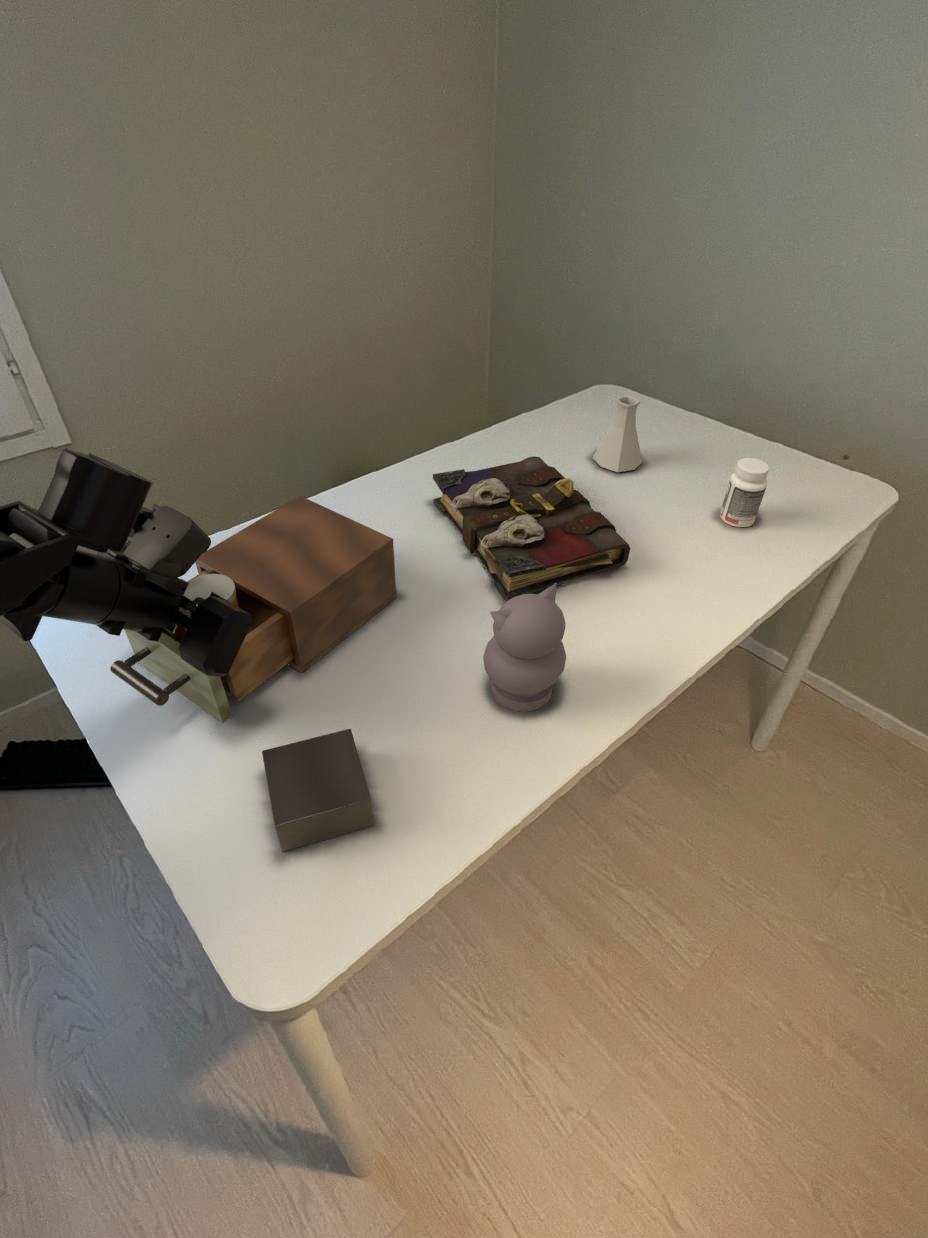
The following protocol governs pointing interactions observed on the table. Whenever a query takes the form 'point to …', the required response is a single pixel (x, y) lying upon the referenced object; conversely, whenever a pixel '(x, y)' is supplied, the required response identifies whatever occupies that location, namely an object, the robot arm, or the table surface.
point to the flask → (621, 439)
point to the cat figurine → (526, 650)
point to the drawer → (251, 667)
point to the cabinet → (310, 573)
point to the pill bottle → (745, 492)
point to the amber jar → (212, 587)
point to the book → (529, 525)
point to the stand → (317, 789)
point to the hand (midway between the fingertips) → (227, 618)
